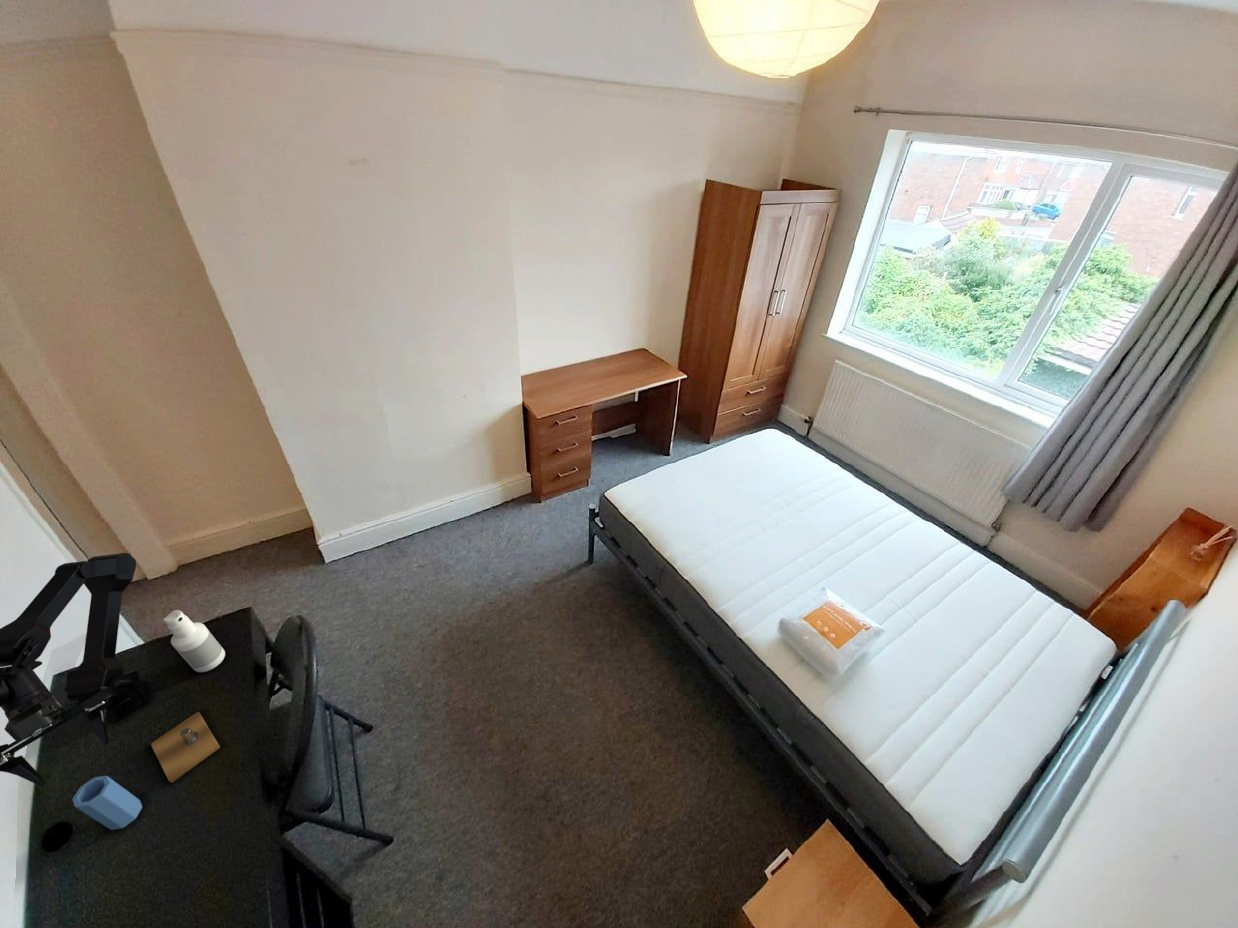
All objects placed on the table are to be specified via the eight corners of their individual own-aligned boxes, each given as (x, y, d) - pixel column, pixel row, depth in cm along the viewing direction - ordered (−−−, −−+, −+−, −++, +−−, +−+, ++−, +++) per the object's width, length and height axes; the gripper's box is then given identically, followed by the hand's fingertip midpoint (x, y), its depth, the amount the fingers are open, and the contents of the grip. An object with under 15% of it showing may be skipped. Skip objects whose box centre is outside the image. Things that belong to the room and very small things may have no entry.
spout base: (153, 746, 109) (142, 736, 106) (200, 714, 115) (191, 704, 112) (171, 783, 103) (160, 774, 100) (220, 747, 109) (211, 737, 106)
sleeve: (106, 816, 98) (70, 793, 92) (137, 794, 101) (104, 770, 95) (113, 835, 95) (76, 812, 89) (144, 811, 99) (111, 788, 92)
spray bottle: (209, 675, 122) (171, 630, 112) (186, 670, 124) (146, 625, 113) (232, 651, 128) (197, 606, 117) (210, 646, 129) (173, 601, 119)
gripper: (-73, 743, 81) (-13, 818, 82) (77, 662, 93) (128, 728, 94) (-41, 736, 90) (13, 804, 90) (93, 662, 102) (139, 723, 102)
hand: (75, 763), depth 94 cm, fingers open, 9 cm apart
